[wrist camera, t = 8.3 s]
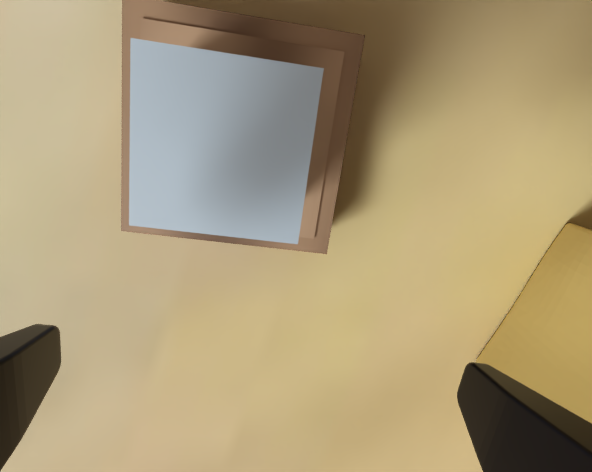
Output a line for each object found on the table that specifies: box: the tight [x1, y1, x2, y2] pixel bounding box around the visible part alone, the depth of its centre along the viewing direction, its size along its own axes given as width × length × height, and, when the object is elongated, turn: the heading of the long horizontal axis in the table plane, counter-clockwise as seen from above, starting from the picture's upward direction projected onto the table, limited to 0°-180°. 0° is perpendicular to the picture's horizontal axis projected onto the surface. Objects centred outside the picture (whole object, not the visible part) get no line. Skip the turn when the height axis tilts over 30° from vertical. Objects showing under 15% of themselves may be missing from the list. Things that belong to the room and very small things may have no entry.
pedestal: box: [121, 0, 365, 254], centre depth 17 cm, size 9×9×3 cm
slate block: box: [129, 38, 324, 244], centre depth 13 cm, size 5×5×5 cm
